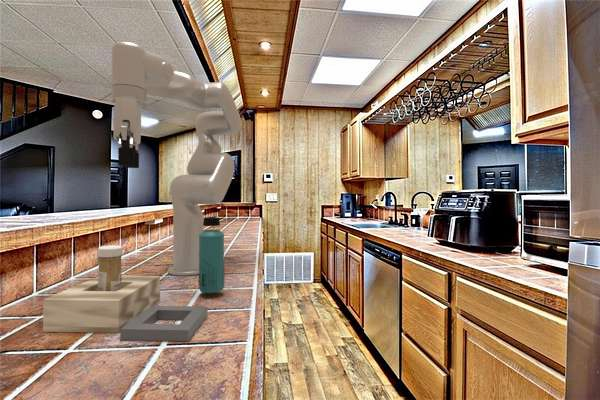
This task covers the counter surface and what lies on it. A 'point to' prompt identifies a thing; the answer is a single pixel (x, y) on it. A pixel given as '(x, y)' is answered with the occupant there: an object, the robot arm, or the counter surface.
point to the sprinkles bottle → (109, 268)
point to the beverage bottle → (211, 258)
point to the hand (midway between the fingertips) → (129, 166)
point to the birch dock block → (100, 305)
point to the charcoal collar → (148, 331)
